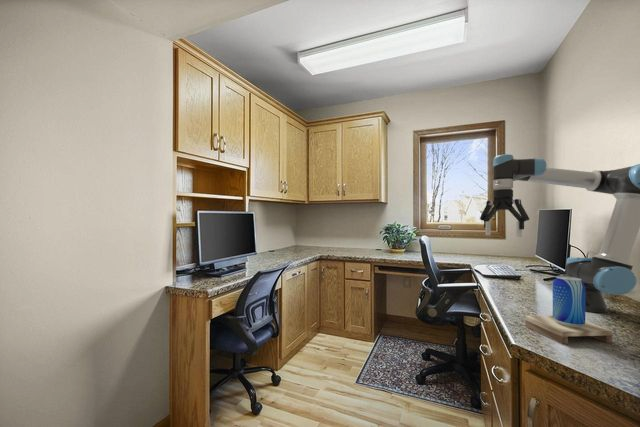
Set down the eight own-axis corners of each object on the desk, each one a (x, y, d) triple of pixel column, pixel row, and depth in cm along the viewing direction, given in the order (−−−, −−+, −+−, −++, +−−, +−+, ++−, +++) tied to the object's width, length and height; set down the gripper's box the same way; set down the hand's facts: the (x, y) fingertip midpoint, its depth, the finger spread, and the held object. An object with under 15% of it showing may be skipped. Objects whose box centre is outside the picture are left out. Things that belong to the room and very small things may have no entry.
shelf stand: (569, 325, 103) (569, 315, 103) (612, 342, 89) (612, 330, 89) (525, 326, 101) (525, 316, 101) (562, 344, 87) (562, 331, 87)
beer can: (592, 329, 89) (592, 281, 90) (562, 327, 91) (562, 279, 91) (573, 320, 98) (573, 276, 98) (547, 318, 99) (547, 274, 100)
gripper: (471, 191, 132) (471, 234, 132) (529, 186, 110) (529, 238, 109) (481, 192, 136) (481, 234, 135) (539, 187, 113) (539, 237, 113)
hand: (502, 236), depth 122 cm, fingers open, 13 cm apart
